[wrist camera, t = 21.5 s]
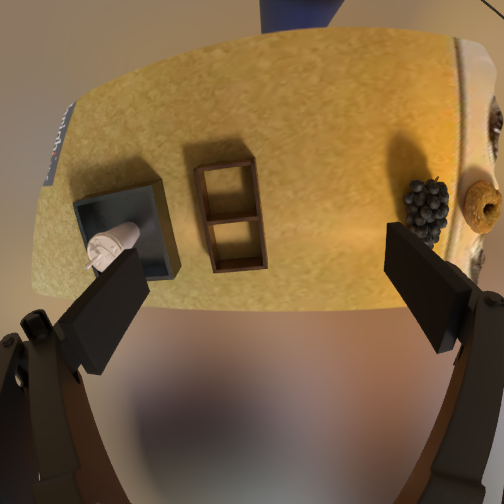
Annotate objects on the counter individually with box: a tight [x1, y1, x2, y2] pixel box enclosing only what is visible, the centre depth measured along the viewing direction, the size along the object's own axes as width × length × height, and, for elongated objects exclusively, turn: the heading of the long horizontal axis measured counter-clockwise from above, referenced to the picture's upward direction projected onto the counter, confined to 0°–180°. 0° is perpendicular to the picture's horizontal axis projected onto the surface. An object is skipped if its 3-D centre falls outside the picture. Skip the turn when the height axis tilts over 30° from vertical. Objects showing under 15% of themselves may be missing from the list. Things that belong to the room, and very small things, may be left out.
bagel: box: [464, 181, 502, 234], centre depth 40 cm, size 10×11×5 cm
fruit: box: [403, 176, 449, 249], centre depth 40 cm, size 9×8×15 cm
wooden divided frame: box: [194, 158, 268, 273], centre depth 44 cm, size 9×17×4 cm, turn 7°
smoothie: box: [85, 221, 140, 272], centre depth 40 cm, size 6×6×14 cm
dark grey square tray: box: [73, 179, 181, 281], centre depth 45 cm, size 16×16×5 cm
